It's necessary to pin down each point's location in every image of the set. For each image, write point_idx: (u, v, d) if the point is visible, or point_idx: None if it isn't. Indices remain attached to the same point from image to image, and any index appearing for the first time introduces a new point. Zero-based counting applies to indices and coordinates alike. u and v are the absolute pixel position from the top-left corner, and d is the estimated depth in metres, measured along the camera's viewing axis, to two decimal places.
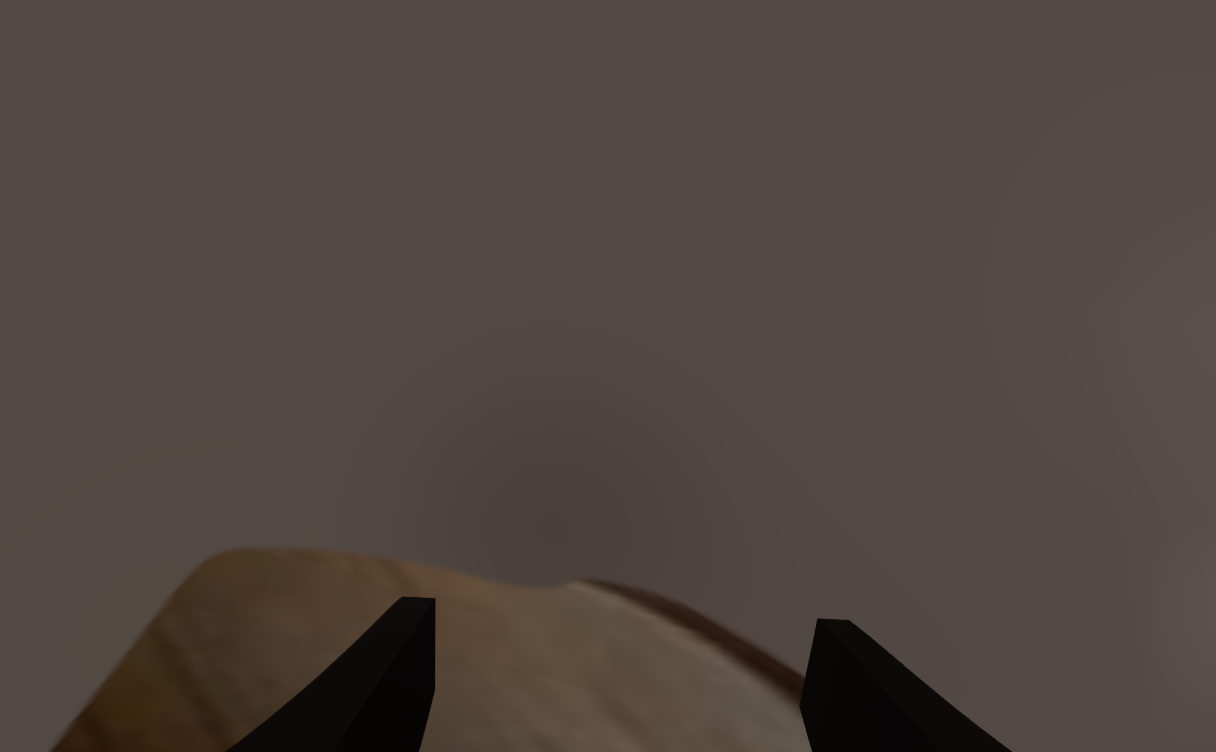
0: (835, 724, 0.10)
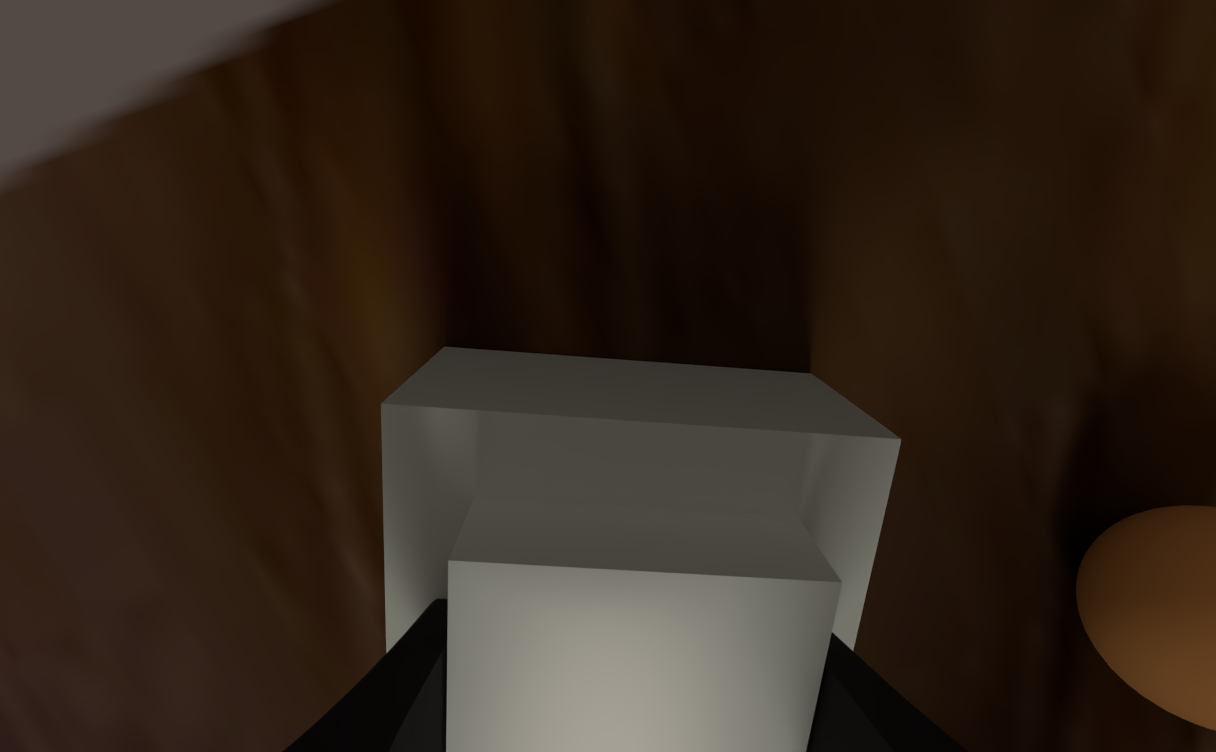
0: None
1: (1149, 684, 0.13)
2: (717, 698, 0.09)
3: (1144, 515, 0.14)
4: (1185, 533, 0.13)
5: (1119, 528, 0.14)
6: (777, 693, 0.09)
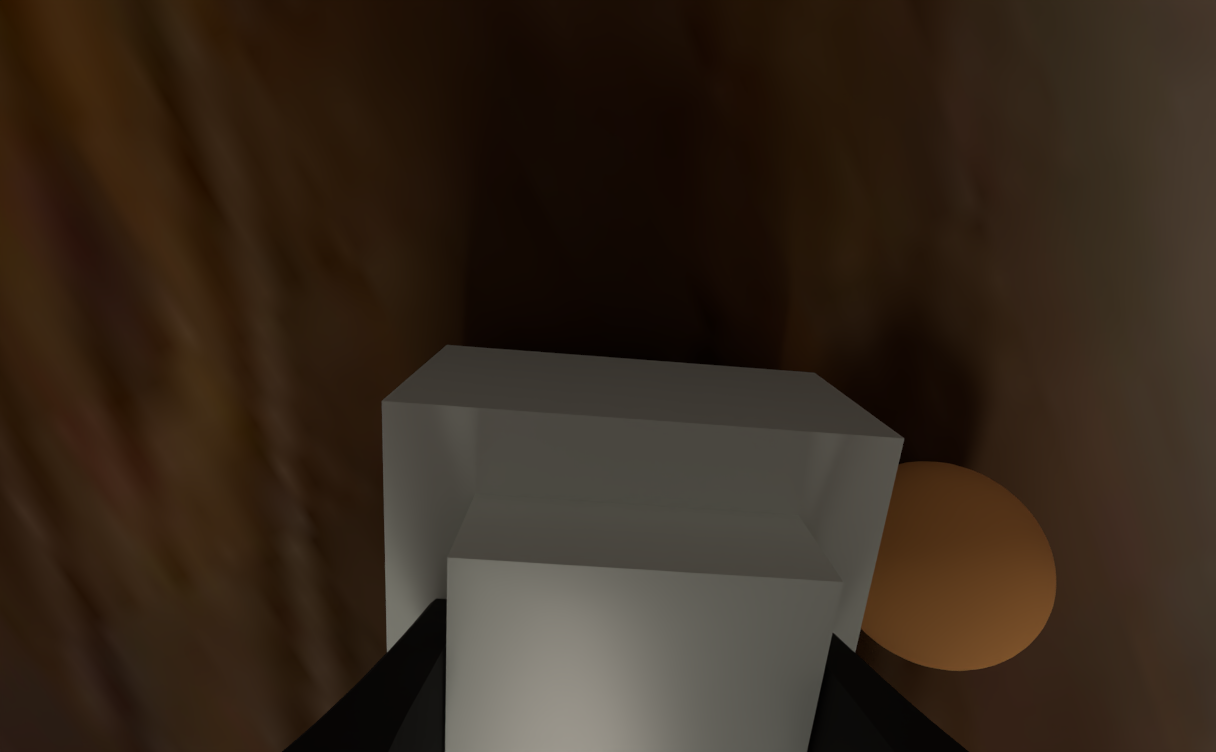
0: None
1: (997, 662, 0.13)
2: (717, 698, 0.09)
3: (920, 510, 0.13)
4: (982, 513, 0.13)
5: (922, 536, 0.13)
6: (777, 693, 0.09)
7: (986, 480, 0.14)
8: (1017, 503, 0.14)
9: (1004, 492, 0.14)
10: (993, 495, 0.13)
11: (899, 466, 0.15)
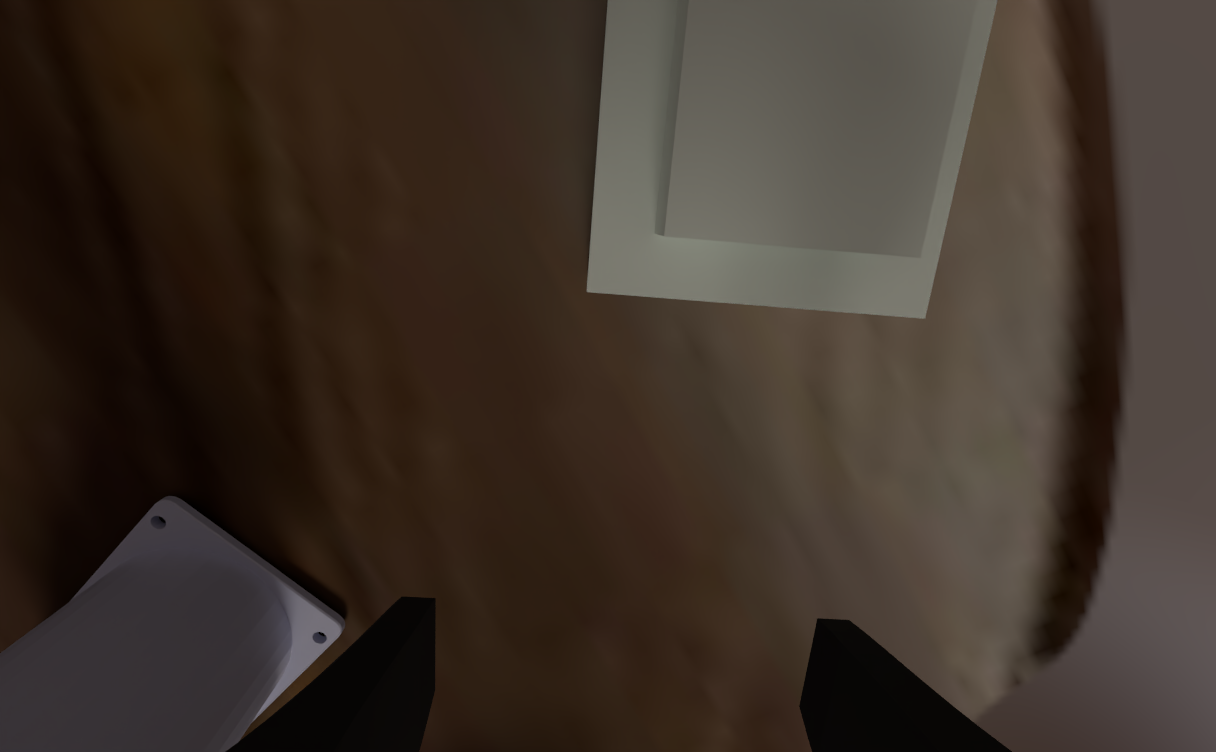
0: (835, 724, 0.10)
1: None
2: (884, 75, 0.12)
3: None
4: None
5: None
6: (930, 71, 0.12)
7: None
8: None
9: None
10: None
11: None
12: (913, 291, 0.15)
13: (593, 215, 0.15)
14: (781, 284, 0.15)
